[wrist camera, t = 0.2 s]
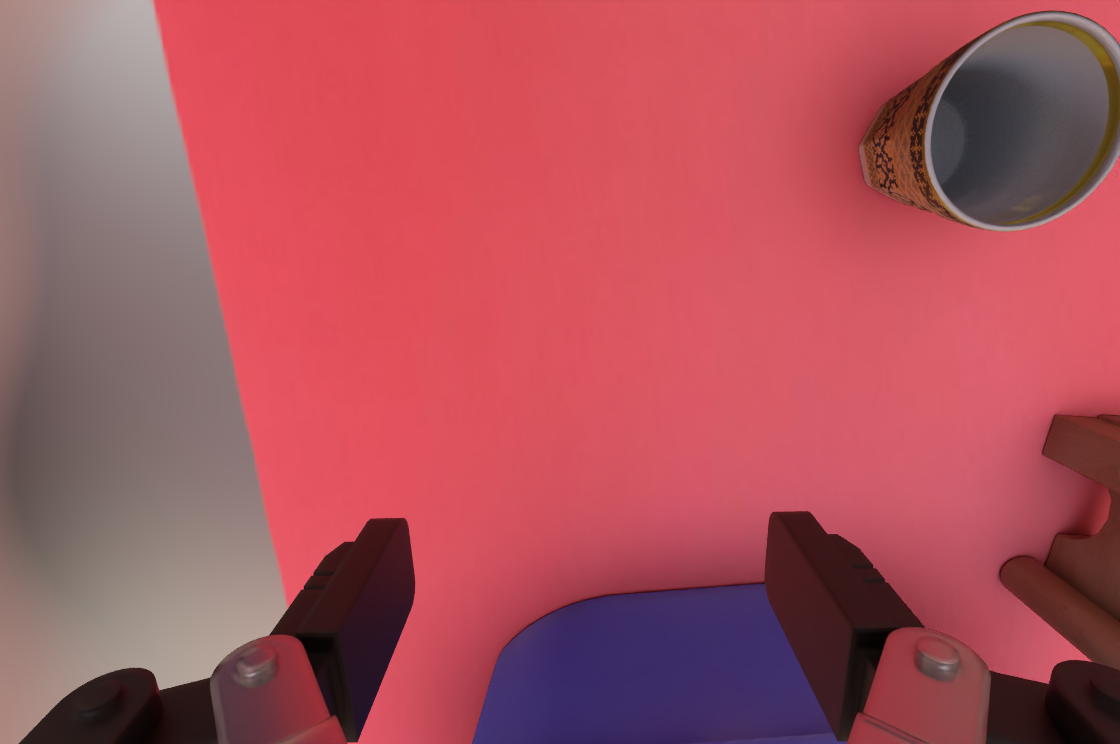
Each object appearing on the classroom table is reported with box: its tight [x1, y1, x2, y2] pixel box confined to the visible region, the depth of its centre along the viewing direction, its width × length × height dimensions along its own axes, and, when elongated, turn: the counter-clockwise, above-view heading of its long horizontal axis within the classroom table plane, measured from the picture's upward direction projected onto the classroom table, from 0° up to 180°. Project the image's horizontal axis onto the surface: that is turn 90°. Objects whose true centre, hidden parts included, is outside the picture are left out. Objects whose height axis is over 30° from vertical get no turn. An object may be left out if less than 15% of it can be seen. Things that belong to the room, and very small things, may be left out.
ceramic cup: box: [858, 11, 1120, 232], centre depth 32 cm, size 13×10×10 cm
